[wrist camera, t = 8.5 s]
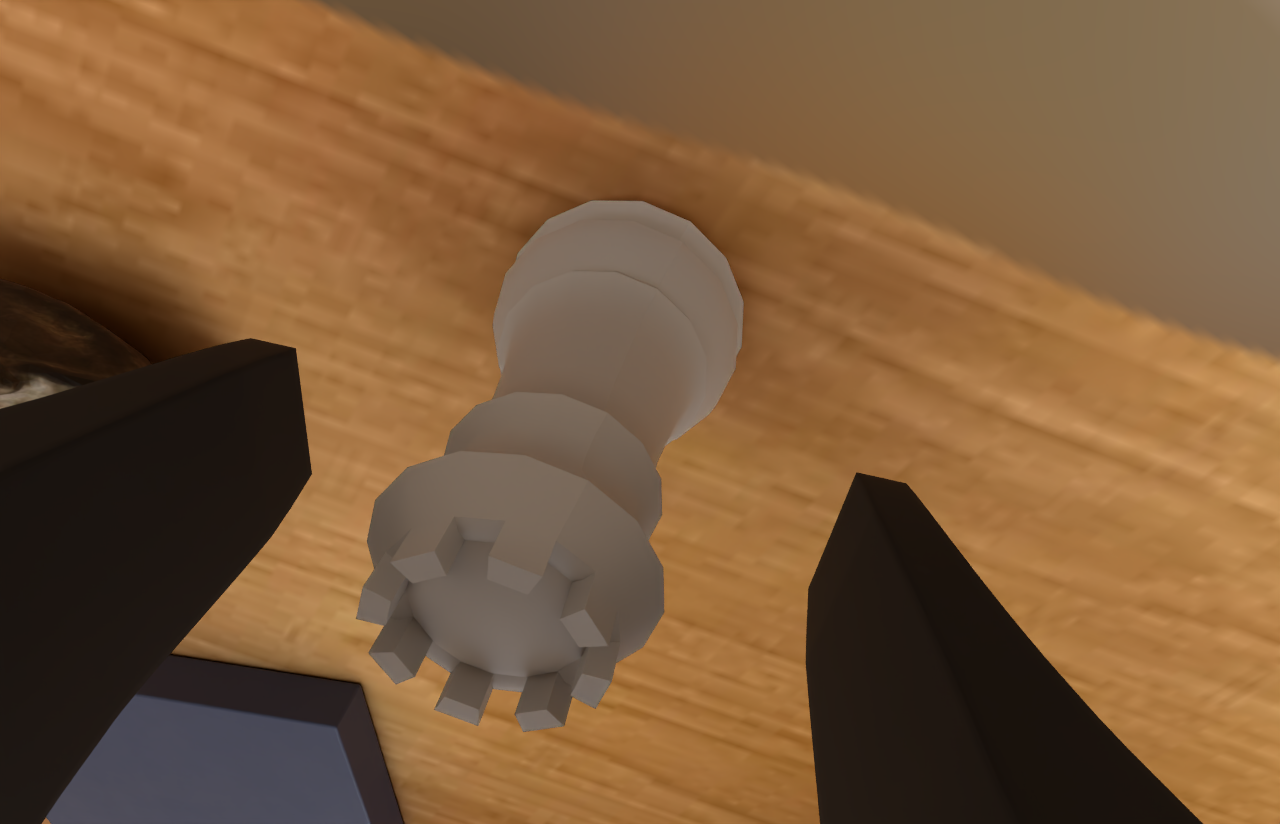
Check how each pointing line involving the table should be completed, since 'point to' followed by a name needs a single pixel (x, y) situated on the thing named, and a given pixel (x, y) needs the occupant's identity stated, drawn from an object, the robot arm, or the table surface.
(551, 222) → the rook chess piece
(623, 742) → the table surface
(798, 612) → the table surface
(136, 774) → the notebook
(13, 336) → the fossilized seashell
